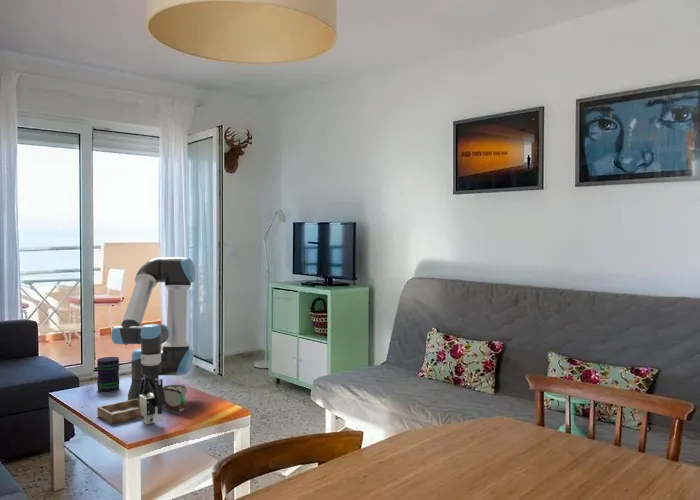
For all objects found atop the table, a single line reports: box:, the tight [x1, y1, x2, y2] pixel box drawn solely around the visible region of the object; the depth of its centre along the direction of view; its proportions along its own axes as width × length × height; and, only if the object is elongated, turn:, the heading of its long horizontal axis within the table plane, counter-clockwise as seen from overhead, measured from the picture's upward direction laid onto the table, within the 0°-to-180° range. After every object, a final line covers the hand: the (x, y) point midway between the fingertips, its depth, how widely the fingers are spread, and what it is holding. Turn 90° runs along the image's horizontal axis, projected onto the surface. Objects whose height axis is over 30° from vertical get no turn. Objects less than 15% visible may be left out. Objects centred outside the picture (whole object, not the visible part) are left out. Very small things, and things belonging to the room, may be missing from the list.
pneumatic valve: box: [138, 393, 156, 425], centre depth 225 cm, size 6×12×12 cm, turn 40°
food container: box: [163, 384, 188, 414], centre depth 243 cm, size 12×6×10 cm, turn 56°
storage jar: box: [96, 356, 120, 393], centre depth 273 cm, size 10×10×15 cm
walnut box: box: [96, 399, 144, 425], centre depth 234 cm, size 17×14×4 cm
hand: (151, 418), depth 226 cm, fingers closed on pneumatic valve, 11 cm apart
